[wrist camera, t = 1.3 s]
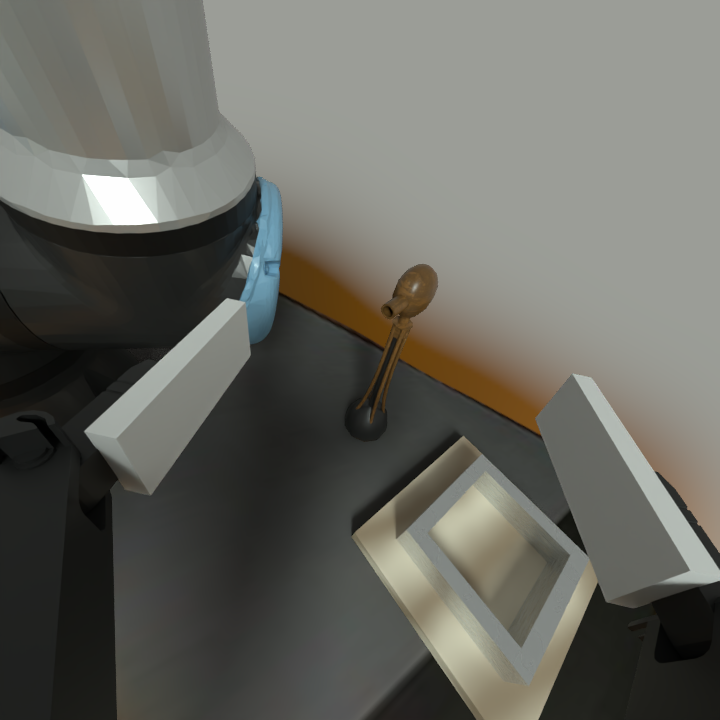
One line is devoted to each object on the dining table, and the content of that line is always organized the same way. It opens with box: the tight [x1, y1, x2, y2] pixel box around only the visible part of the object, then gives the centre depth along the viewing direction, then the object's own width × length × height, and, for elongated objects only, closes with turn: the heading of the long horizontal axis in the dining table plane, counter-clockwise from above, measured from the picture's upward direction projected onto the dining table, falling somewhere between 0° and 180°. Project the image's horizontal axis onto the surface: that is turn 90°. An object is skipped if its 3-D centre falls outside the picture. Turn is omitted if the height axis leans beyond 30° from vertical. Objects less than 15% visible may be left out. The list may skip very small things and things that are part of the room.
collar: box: [397, 454, 589, 686], centre depth 25 cm, size 11×11×3 cm
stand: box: [352, 436, 598, 720], centre depth 27 cm, size 16×16×2 cm
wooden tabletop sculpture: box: [345, 264, 438, 442], centre depth 27 cm, size 6×5×20 cm
